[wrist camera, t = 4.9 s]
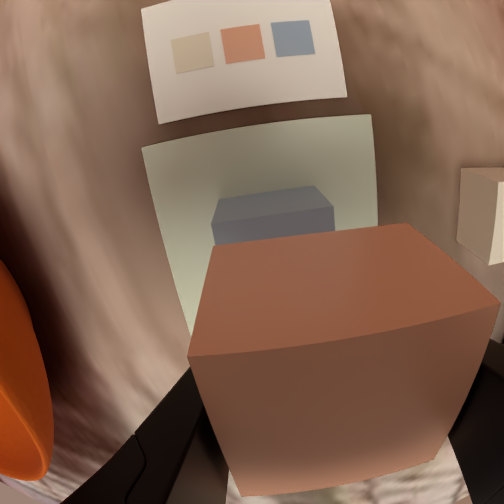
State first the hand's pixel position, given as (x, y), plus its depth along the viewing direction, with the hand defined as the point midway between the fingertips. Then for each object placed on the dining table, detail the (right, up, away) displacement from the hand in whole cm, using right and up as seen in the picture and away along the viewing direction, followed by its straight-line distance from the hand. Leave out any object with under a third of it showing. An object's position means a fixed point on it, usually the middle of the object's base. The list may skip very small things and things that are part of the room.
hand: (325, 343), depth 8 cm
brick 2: (+14, +6, +10) cm, 18 cm away
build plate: (-1, +3, +10) cm, 11 cm away
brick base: (-1, +3, +10) cm, 10 cm away
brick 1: (0, +1, +1) cm, 1 cm away
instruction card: (-2, +13, +6) cm, 15 cm away
